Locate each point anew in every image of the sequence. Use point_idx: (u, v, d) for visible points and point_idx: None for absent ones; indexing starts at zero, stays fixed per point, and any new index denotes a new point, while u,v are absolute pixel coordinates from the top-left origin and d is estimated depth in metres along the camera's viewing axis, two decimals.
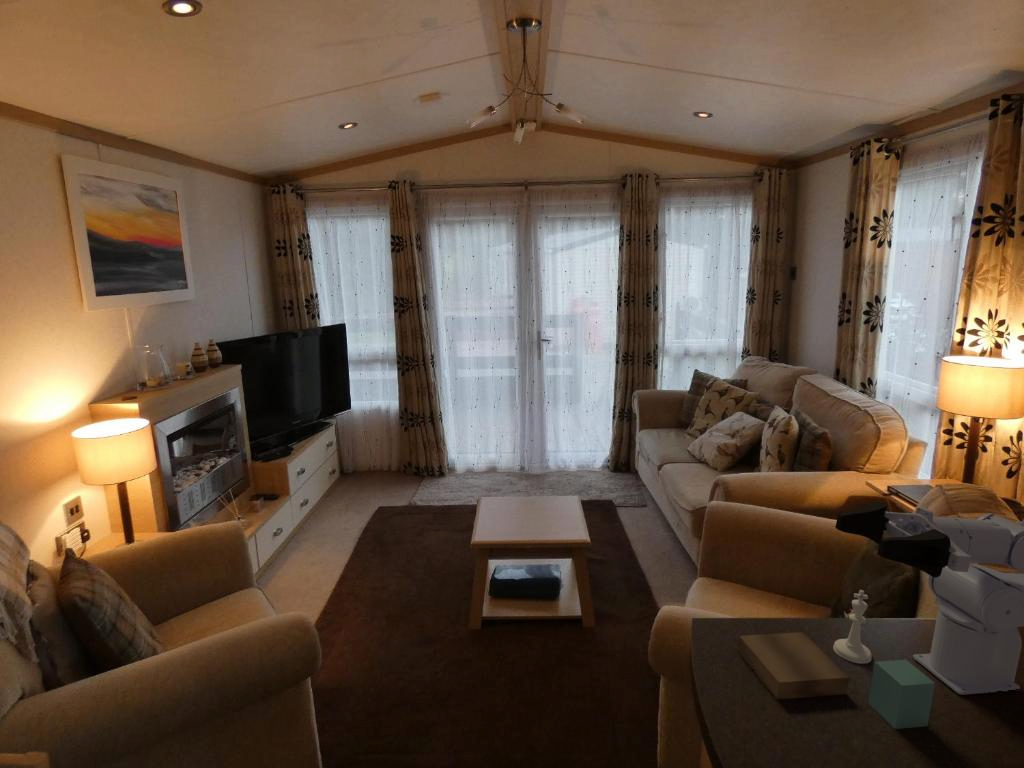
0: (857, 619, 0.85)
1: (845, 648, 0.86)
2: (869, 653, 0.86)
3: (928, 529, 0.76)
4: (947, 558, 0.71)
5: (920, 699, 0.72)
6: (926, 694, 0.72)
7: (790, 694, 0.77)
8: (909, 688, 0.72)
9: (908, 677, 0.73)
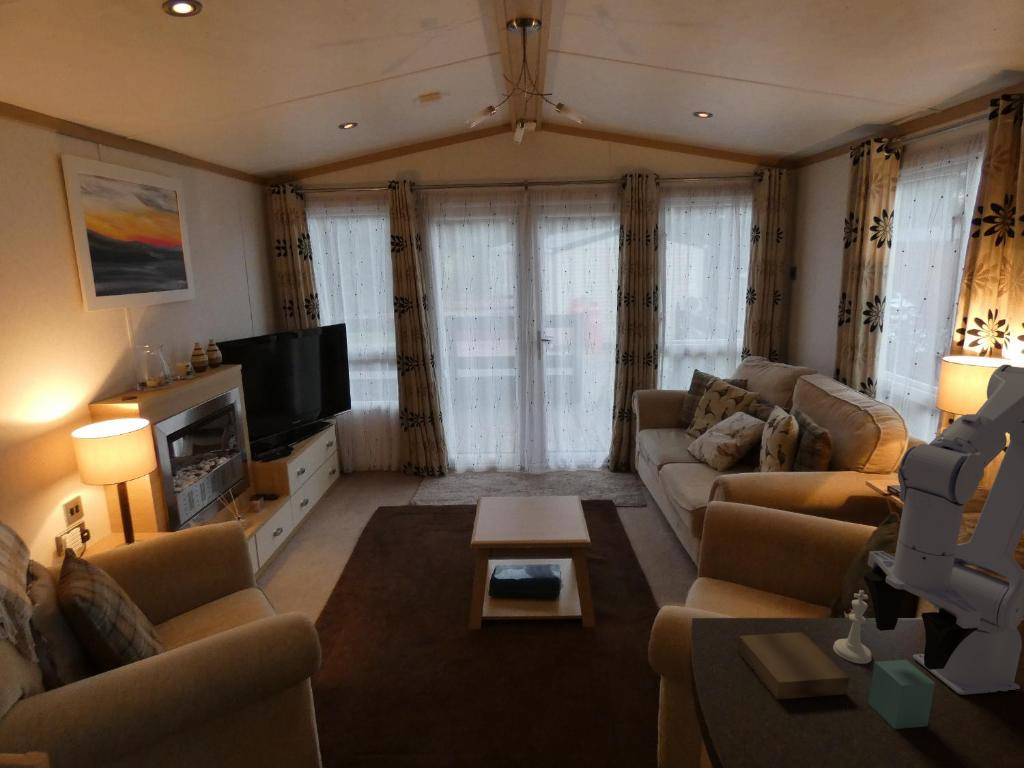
0: (857, 619, 0.85)
1: (845, 648, 0.86)
2: (869, 653, 0.86)
3: None
4: None
5: (920, 699, 0.72)
6: (926, 694, 0.72)
7: (790, 694, 0.77)
8: (909, 688, 0.72)
9: (908, 678, 0.73)
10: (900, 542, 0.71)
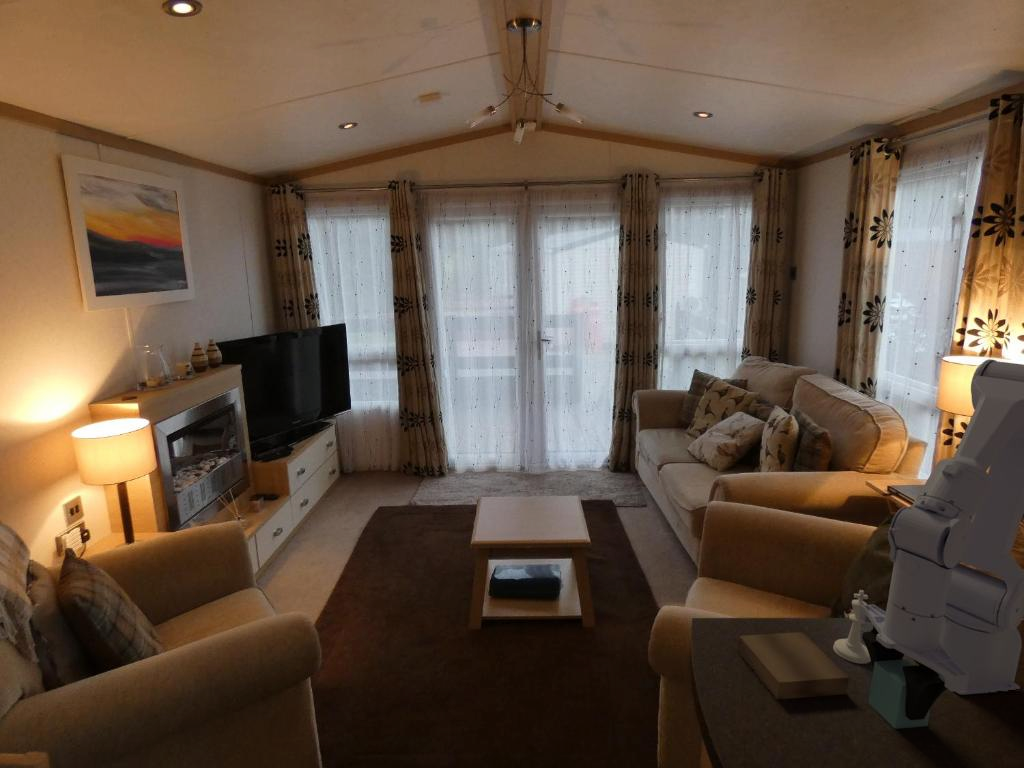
0: (857, 619, 0.85)
1: (845, 648, 0.86)
2: None
3: None
4: None
5: None
6: None
7: (790, 694, 0.77)
8: None
9: None
10: (890, 601, 0.73)
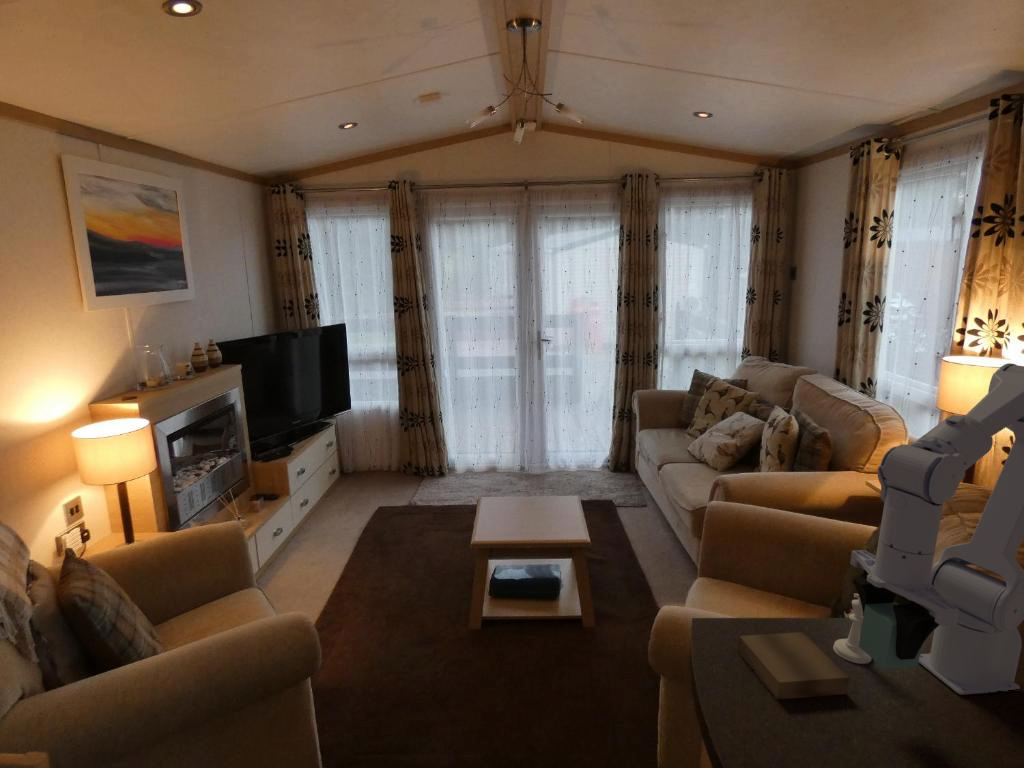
0: (857, 619, 0.85)
1: (845, 648, 0.86)
2: None
3: None
4: None
5: None
6: None
7: (790, 694, 0.77)
8: None
9: None
10: (881, 541, 0.72)
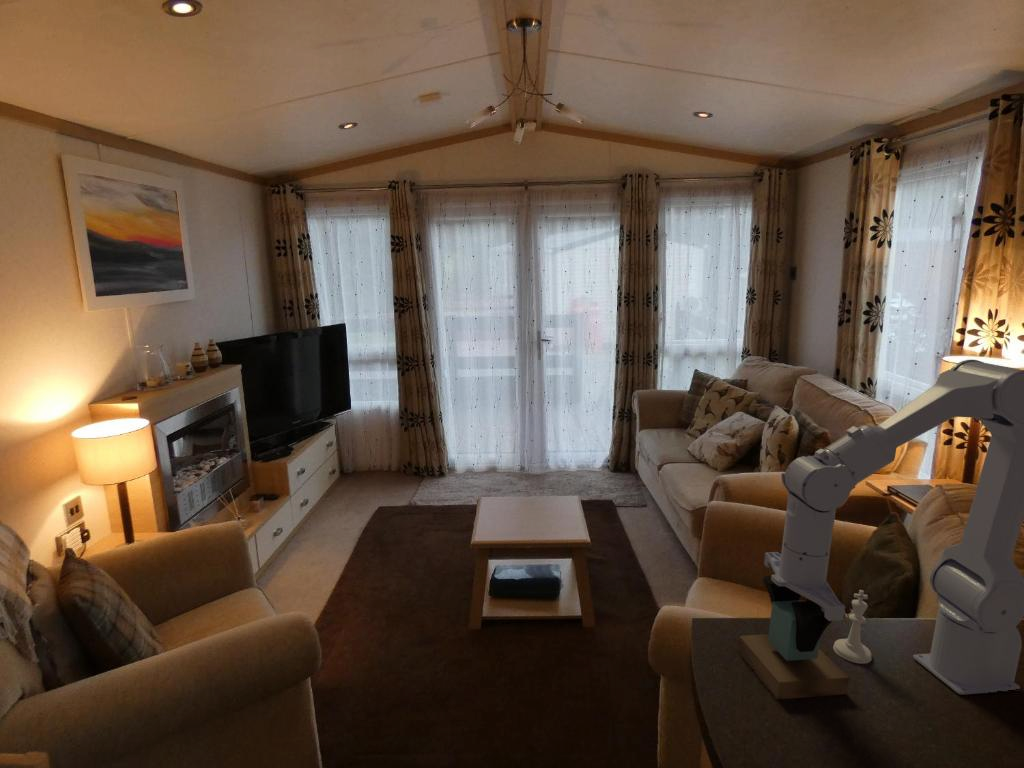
0: (857, 619, 0.85)
1: (845, 648, 0.86)
2: (869, 653, 0.86)
3: None
4: None
5: None
6: None
7: (790, 694, 0.77)
8: None
9: None
10: (783, 544, 0.79)
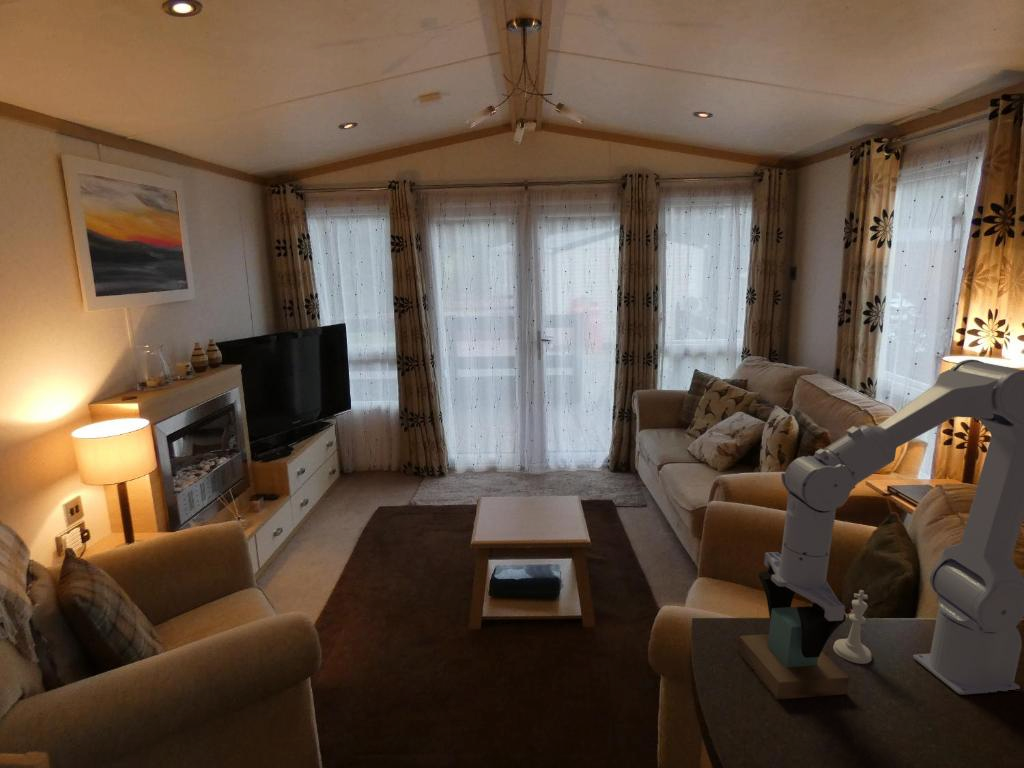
0: (857, 619, 0.85)
1: (845, 648, 0.86)
2: (869, 653, 0.86)
3: None
4: None
5: None
6: None
7: (790, 694, 0.77)
8: (799, 629, 0.79)
9: (799, 620, 0.80)
10: (783, 544, 0.79)
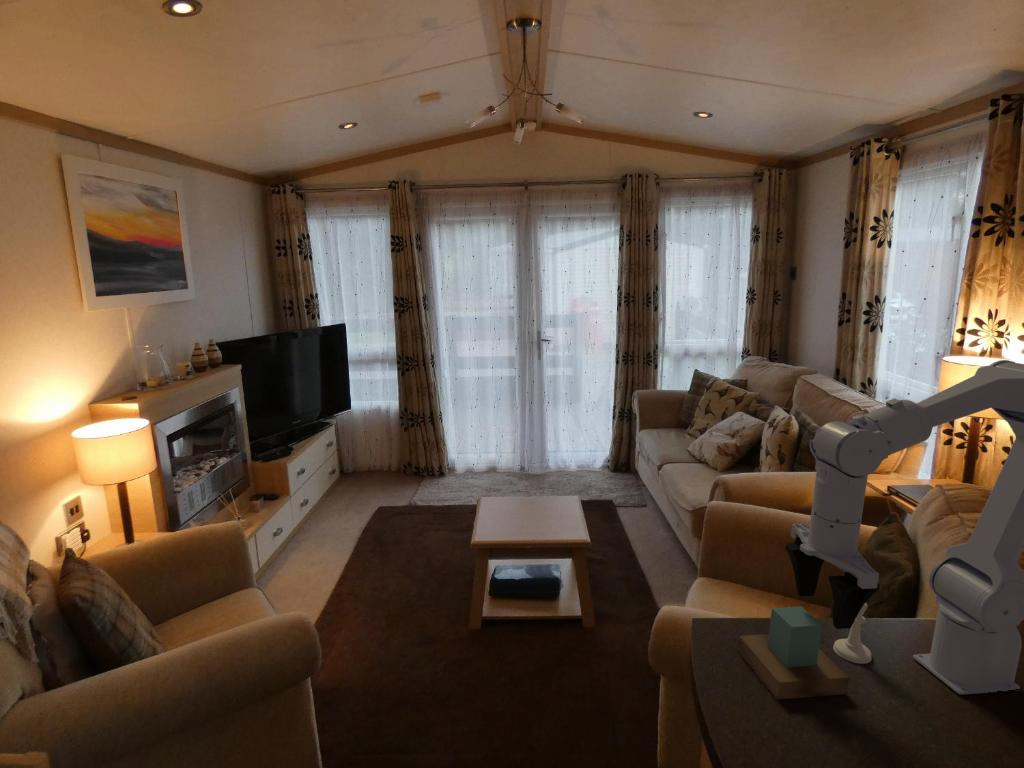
0: (857, 619, 0.85)
1: (845, 648, 0.86)
2: (869, 653, 0.86)
3: None
4: None
5: (809, 640, 0.79)
6: (815, 635, 0.79)
7: (790, 694, 0.77)
8: (799, 629, 0.79)
9: (799, 620, 0.80)
10: (812, 512, 0.77)
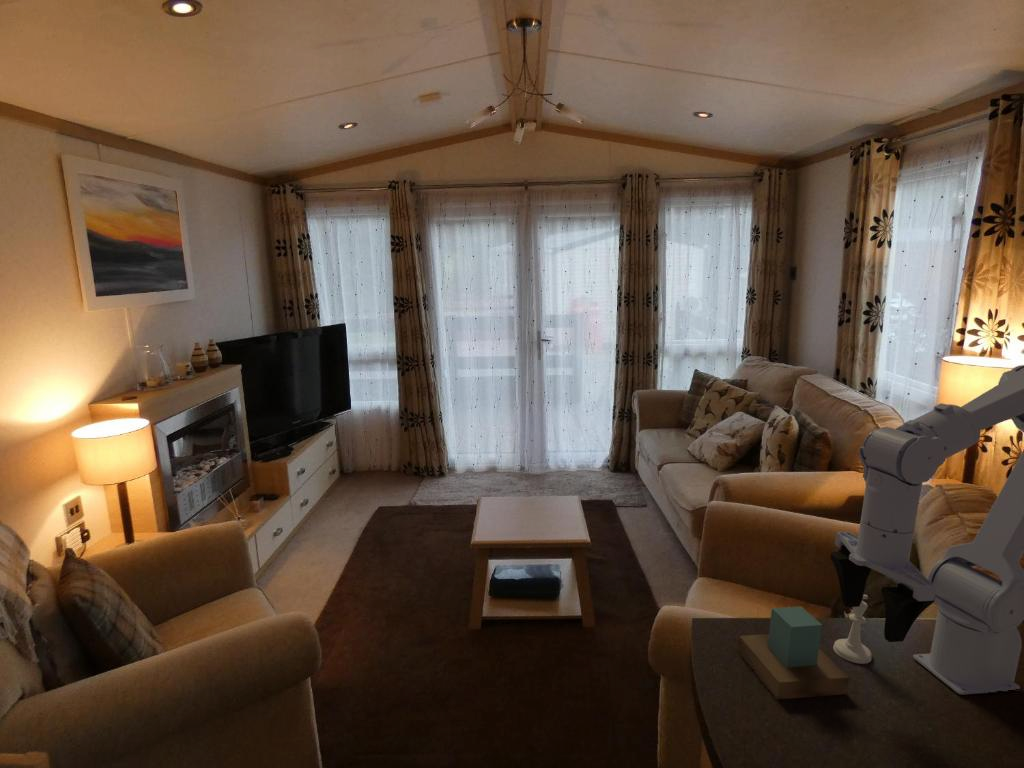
0: (857, 619, 0.85)
1: (845, 648, 0.86)
2: (869, 653, 0.86)
3: None
4: None
5: (809, 640, 0.79)
6: (815, 635, 0.79)
7: (790, 694, 0.77)
8: (799, 629, 0.79)
9: (799, 620, 0.80)
10: (862, 521, 0.75)
